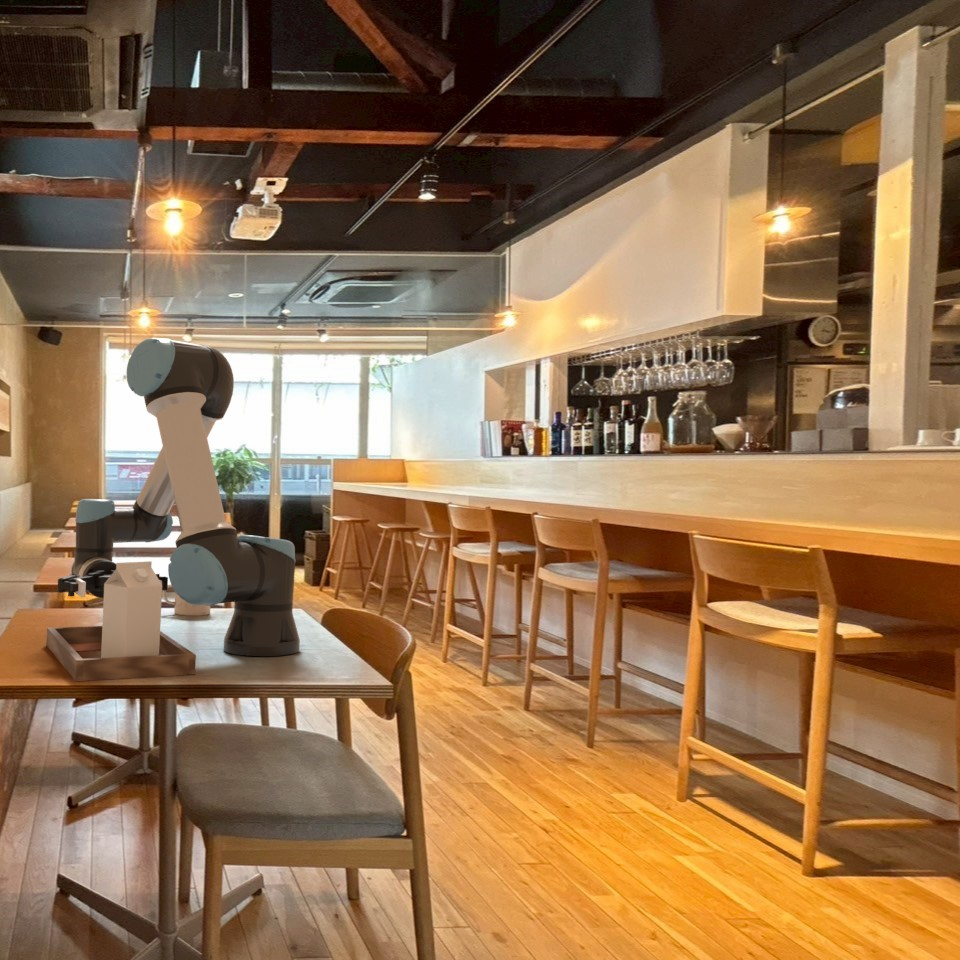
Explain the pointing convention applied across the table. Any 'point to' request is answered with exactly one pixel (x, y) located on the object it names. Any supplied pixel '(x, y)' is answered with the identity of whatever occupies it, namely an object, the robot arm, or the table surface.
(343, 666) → the table surface
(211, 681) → the table surface
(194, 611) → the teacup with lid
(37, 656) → the table surface
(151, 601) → the milk carton
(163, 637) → the box
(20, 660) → the table surface
